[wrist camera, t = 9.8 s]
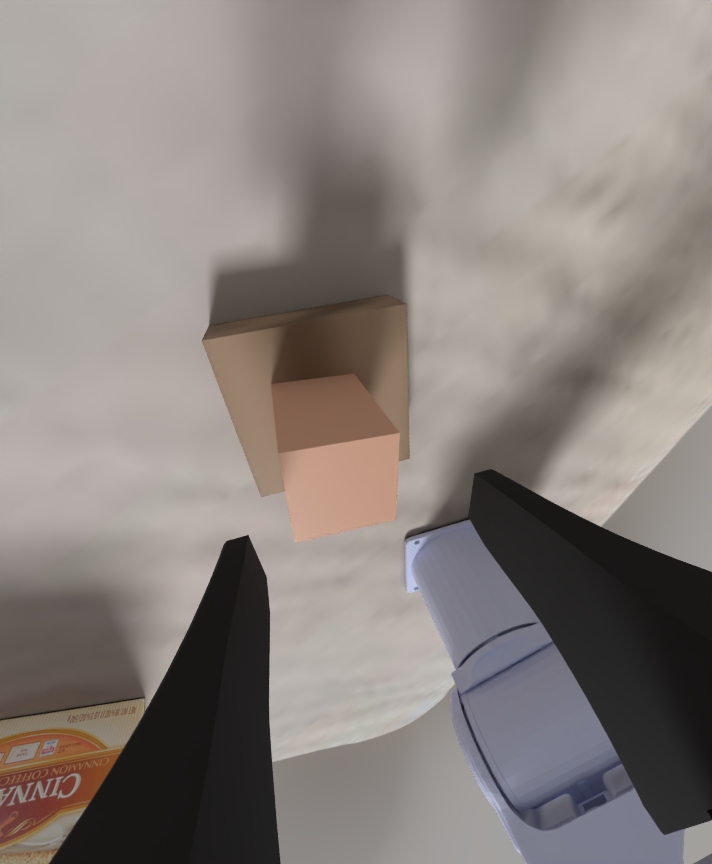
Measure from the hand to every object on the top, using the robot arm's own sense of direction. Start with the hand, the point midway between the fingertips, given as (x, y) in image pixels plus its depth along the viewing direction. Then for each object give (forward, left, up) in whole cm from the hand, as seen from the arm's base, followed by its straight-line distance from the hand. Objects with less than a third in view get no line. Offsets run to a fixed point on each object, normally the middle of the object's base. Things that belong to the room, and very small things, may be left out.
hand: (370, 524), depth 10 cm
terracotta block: (+1, 0, -8) cm, 8 cm away
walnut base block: (0, 0, -11) cm, 11 cm away
